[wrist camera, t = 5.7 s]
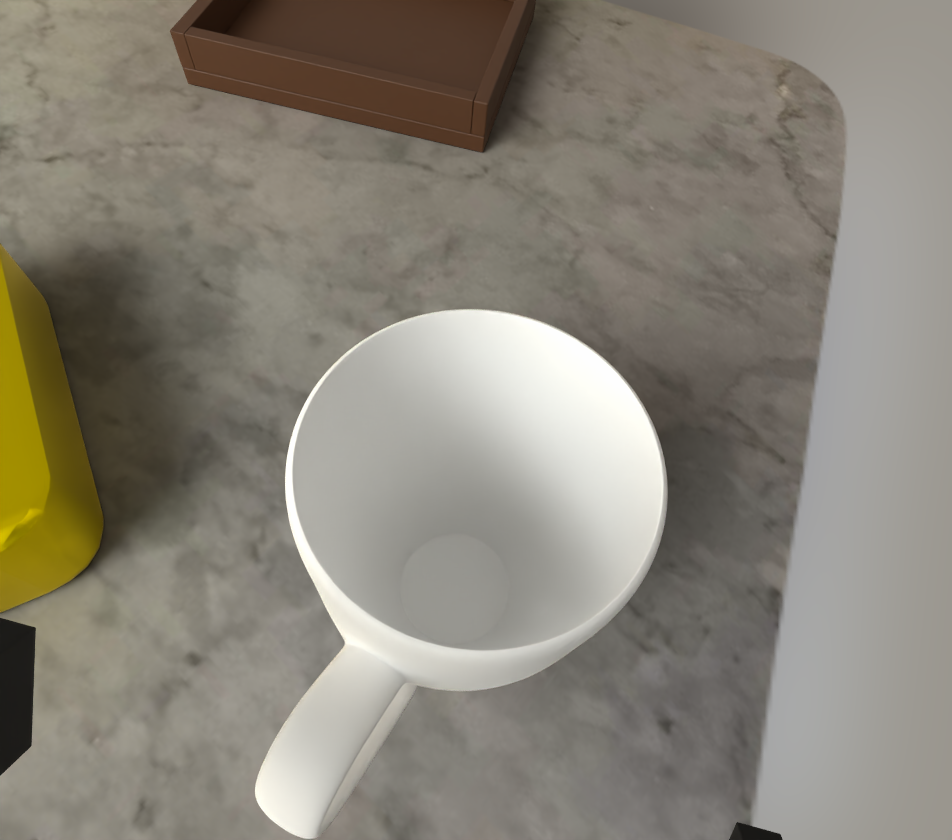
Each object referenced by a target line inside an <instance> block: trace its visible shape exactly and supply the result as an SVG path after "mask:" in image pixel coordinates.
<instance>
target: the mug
mask: <svg viewBox="0 0 952 840" xmlns="http://www.w3.org/2000/svg"><path fill="white" fill-rule="evenodd" d="M285 492H286V503H287V510H288V516H289V521H290V525H291V529H292V533H293V536H294V539H295V542H296V545H297V548H298V551H299V553H300V555H301V558H302V560H303V562H304V564H305V566H306V569H307V571H308V573H309V575H310V577H311V578H312V580H313V582H314V584H315V586H316V588H317V590H318V592H319V594H320V597H321V599H322V601H323V603H324V605H325V607H326V609H327V611H328V612H329V614H330V616H331V618H332V620H333V622H334V623H335V625H336V627H337V629H338V630H339V632H340V634H341V635H342V637H343V639H344V641H345V645H344V647H343V648H342V650H341V651H340V652H339V653H338V655H337V656H336V657H335V658H334V659H333V660H332V662H331V663H330V664H329V665H328V666H327V668H326V669H325V670H324V671H323V672H322V674H321V675H320V676H319V677H318V678H317V680H316V681H315V682H314V683H313V685H312V686H311V687H310V688H309V690H308V691H307V692H306V694H305V695H304V696H303V697H302V699H301V700H300V701H299V703H298V704H297V706H296V707H295V708H294V710H293V711H292V713H291V714H290V716H289V717H288V719H287V720H286V722H285V723H284V725H283V726H282V728H281V730H280V731H279V733H278V735H277V737H276V738H275V740H274V742H273V744H272V746H271V747H270V749H269V751H268V753H267V755H266V758H265V760H264V762H263V764H262V767H261V769H260V772H259V774H258V777H257V781H256V786H255V795H256V799H257V802H258V804H259V806H260V807H261V809H262V810H263V811H264V813H265V814H266V815H267V816H268V817H269V818H270V819H271V820H272V821H274V822H275V823H276V824H277V825H279V826H280V827H282V828H283V829H285V830H286V831H288V832H290V833H292V834H294V835H296V836H298V837H302V838H305V839H313V838H316V837H318V836H320V835H321V834H322V833H323V832H324V831H325V830H326V829H327V827H328V826H329V825H330V824H331V823H332V821H333V820H334V819H335V817H336V816H337V814H338V813H339V812H340V810H341V809H342V807H343V806H344V804H345V803H346V801H347V800H348V798H349V797H350V795H351V794H352V792H353V791H354V789H355V788H356V786H357V784H358V783H359V781H360V780H361V778H362V777H363V775H364V774H365V772H366V770H367V769H368V767H369V766H370V764H371V762H372V761H373V759H374V758H375V756H376V755H377V753H378V751H379V750H380V748H381V747H382V745H383V743H384V742H385V740H386V739H387V737H388V735H389V734H390V732H391V731H392V729H393V727H394V726H395V724H396V723H397V721H398V719H399V718H400V716H401V715H402V713H403V711H404V710H405V708H406V706H407V705H408V703H409V701H410V700H411V698H412V696H413V694H414V692H415V690H416V688H417V686H422V687H427V688H432V689H439V690H449V691H474V690H483V689H490V688H495V687H500V686H504V685H507V684H511V683H514V682H517V681H520V680H522V679H525V678H527V677H530V676H532V675H534V674H536V673H538V672H540V671H542V670H544V669H546V668H547V667H549V666H551V665H552V664H554V663H555V662H557V661H558V660H560V659H561V658H563V657H564V656H566V655H567V654H568V653H570V652H571V651H573V650H574V649H575V648H577V647H578V646H580V645H581V644H583V643H584V642H585V641H587V640H588V639H589V638H591V637H592V636H593V635H595V634H596V633H597V632H598V631H599V630H601V629H602V628H603V627H604V626H605V625H606V624H607V623H608V622H610V621H611V620H612V619H613V618H614V617H615V616H616V615H617V614H618V613H619V611H620V610H621V609H622V608H623V607H624V606H625V605H626V603H627V602H628V601H629V600H630V599H631V597H632V596H633V595H634V593H635V592H636V590H637V589H638V587H639V586H640V584H641V583H642V581H643V579H644V578H645V576H646V574H647V572H648V570H649V568H650V566H651V564H652V562H653V560H654V558H655V555H656V552H657V550H658V547H659V544H660V541H661V537H662V534H663V529H664V524H665V519H666V512H667V498H668V487H667V474H666V466H665V460H664V456H663V452H662V448H661V444H660V441H659V438H658V435H657V433H656V430H655V428H654V425H653V423H652V421H651V419H650V417H649V415H648V413H647V411H646V409H645V407H644V405H643V404H642V402H641V400H640V399H639V397H638V396H637V394H636V393H635V392H634V390H633V389H632V387H631V386H630V385H629V384H628V382H627V381H626V380H625V379H624V378H623V377H622V375H621V374H620V373H619V372H618V371H617V370H616V369H615V368H614V367H613V366H612V365H611V364H610V363H609V362H608V361H606V360H605V359H604V358H603V357H602V356H601V355H599V354H598V353H597V352H596V351H594V350H593V349H592V348H590V347H589V346H587V345H586V344H584V343H583V342H581V341H580V340H578V339H577V338H575V337H573V336H571V335H570V334H568V333H566V332H564V331H562V330H560V329H558V328H556V327H553V326H551V325H549V324H546V323H544V322H541V321H538V320H535V319H532V318H529V317H525V316H521V315H517V314H513V313H508V312H502V311H494V310H484V309H457V310H446V311H439V312H433V313H428V314H424V315H419V316H416V317H412V318H409V319H406V320H403V321H400V322H398V323H395V324H393V325H390V326H388V327H386V328H384V329H382V330H380V331H378V332H376V333H374V334H373V335H371V336H369V337H367V338H366V339H364V340H363V341H361V342H360V343H358V344H357V345H356V346H354V347H353V348H352V349H350V350H349V351H348V352H347V353H345V354H344V355H343V356H342V357H341V358H340V359H339V360H338V361H337V362H336V363H335V364H334V365H333V366H332V367H331V368H330V369H329V370H328V371H327V372H326V373H325V374H324V376H323V377H322V378H321V379H320V381H319V382H318V383H317V385H316V386H315V388H314V389H313V391H312V392H311V394H310V395H309V397H308V399H307V401H306V402H305V404H304V406H303V408H302V410H301V413H300V415H299V417H298V419H297V422H296V425H295V427H294V430H293V434H292V437H291V441H290V445H289V450H288V455H287V462H286V474H285Z"/></svg>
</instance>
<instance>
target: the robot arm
mask: <svg viewBox="0 0 952 840" xmlns="http://www.w3.org/2000/svg"><path fill="white" fill-rule="evenodd" d="M35 630H36V628H35V627H31V626H27V625H24V624H20V623H17V622H13V621H9V620H6V619H2V618H0V775H1V774H3V773H4V772H5V771H6V770H7V769H8V768H9V767H10V766H11V765H12V764H13V763H14V762H15V761H16V760H17V759H18V758H19V757H20V756H21V755H22V754H23V753H25V752H26V751H27V750H28V749H29V748H30V747H31V743H32V715H33V687H34V659H35ZM729 840H782V837H781V835H780V834H778V833H774V832H771V831H767V830H763V829H760V828H756V827H753V826H749V825H746V824H742V823H738V822H737V823H736V826H735V828H734V830H733V832H732V834H731V837H730V839H729Z"/></svg>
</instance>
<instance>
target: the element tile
mask: <svg viewBox="0 0 952 840" xmlns="http://www.w3.org/2000/svg"><path fill="white" fill-rule="evenodd" d="M102 533H103V513H102V509H101V506H100V502H99V498H98V494H97V490H96V486H95V483H94V479H93V475H92V471H91V467H90V464H89V460H88V456H87V452H86V448H85V445H84V441H83V437H82V433H81V429H80V426H79V422H78V418H77V414H76V410H75V406H74V403H73V399H72V395H71V391H70V387H69V384H68V380H67V376H66V372H65V368H64V365H63V361H62V357H61V353H60V349H59V346H58V342H57V338H56V334H55V330H54V326H53V323H52V319H51V315H50V311H49V307H48V305H47V303H46V301H45V299H44V297H43V296H42V294H41V293H40V292H39V291H38V289H37V288H36V287H35V286H34V284H33V283H32V282H31V281H30V279H29V278H28V277H27V276H26V275H25V273H24V272H23V271H22V270H21V268H20V267H19V266H18V265H17V263H16V262H15V261H14V260H13V258H12V257H11V256H10V255H9V253H8V252H7V251H6V250H5V249H4V247H3V246H2V245H1V244H0V613H1V612H4V611H6V610H8V609H11V608H13V607H16V606H18V605H20V604H23V603H25V602H28V601H30V600H32V599H35V598H37V597H39V596H42V595H44V594H47V593H49V592H51V591H53V590H55V589H57V588H59V587H60V586H62V585H64V584H66V583H67V582H69V581H71V580H72V579H73V578H74V577H75V576H77V575H78V574H79V573H80V572H81V571H83V570H84V569H85V568H86V567H87V566H88V565H89V564H90V562H91V561H92V559H93V557H94V556H95V554H96V553H97V551H98V550H99V547H100V542H101V538H102Z"/></svg>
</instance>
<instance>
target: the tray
mask: <svg viewBox="0 0 952 840" xmlns="http://www.w3.org/2000/svg"><path fill="white" fill-rule="evenodd" d="M535 1H536V0H197V1H196V2H195V3H194V4H193V6H192V7H191V8H190V9H189V10H188V11H187V12H186V13H185V14H184V16H183V17H182V18H181V19H180V20H179V21H178V22H177V23H176V25H175V26H174V27H173V28H172V29H171V30H170V32H171V35H172V38H173V41H174V44H175V47H176V50H177V53H178V56H179V59H180V62H181V65H182V67H183V70H184V73H185V75H186V78H187V81H188V83H189V84H192V85H197V86H201V87H205V88H210V89H214V90H218V91H222V92H227V93H231V94H235V95H239V96H244V97H248V98H252V99H256V100H261V101H265V102H269V103H273V104H278V105H282V106H286V107H290V108H295V109H299V110H303V111H308V112H312V113H316V114H320V115H325V116H329V117H333V118H337V119H342V120H346V121H350V122H354V123H359V124H363V125H367V126H371V127H376V128H380V129H384V130H389V131H393V132H397V133H401V134H406V135H410V136H414V137H418V138H423V139H427V140H431V141H435V142H440V143H444V144H448V145H452V146H457V147H461V148H465V149H470V150H474V151H478V152H483V151H484V148H485V146H486V143H487V140H488V138H489V135H490V132H491V130H492V127H493V124H494V121H495V119H496V116H497V113H498V111H499V108H500V105H501V103H502V100H503V97H504V94H505V92H506V89H507V86H508V84H509V81H510V78H511V76H512V73H513V70H514V67H515V65H516V62H517V59H518V57H519V54H520V51H521V48H522V46H523V43H524V40H525V38H526V35H527V32H528V30H529V27H530V24H531V21H532V19H533V16H534V9H535Z"/></svg>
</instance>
